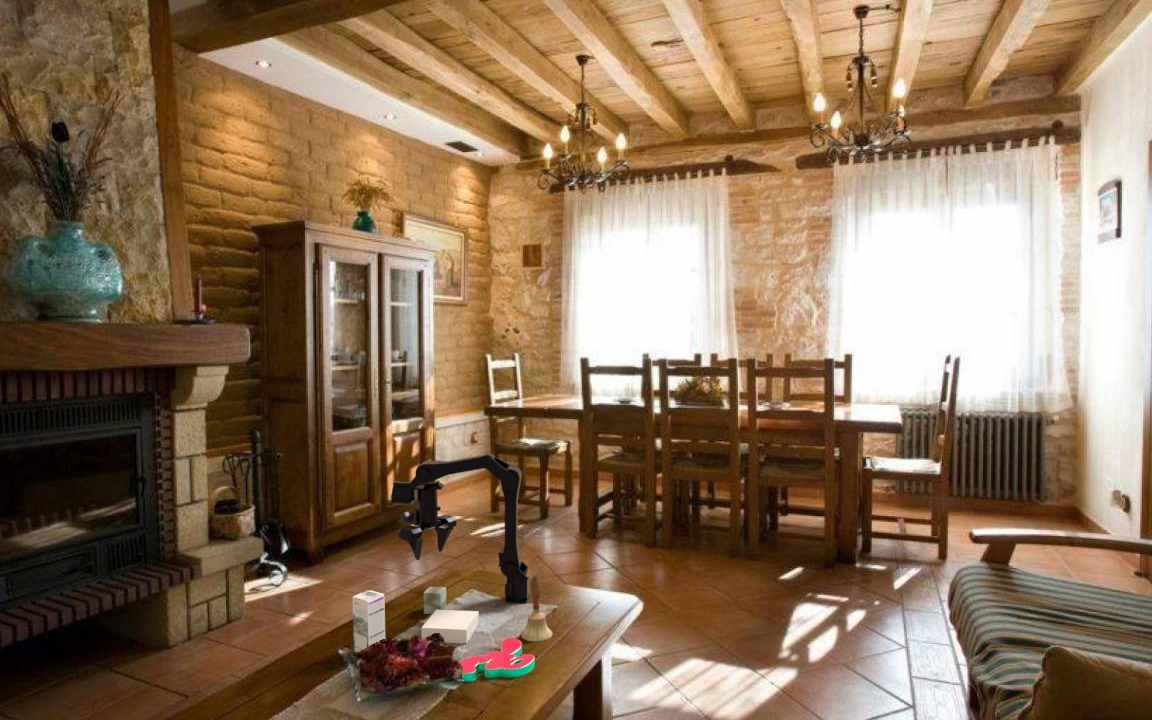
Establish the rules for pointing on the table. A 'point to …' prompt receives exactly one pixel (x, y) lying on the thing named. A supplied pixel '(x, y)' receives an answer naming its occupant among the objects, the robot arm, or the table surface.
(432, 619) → the cream block
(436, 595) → the green block
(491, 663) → the squiggly shape
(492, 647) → the table surface
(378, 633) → the syrup box
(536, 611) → the hand bell
